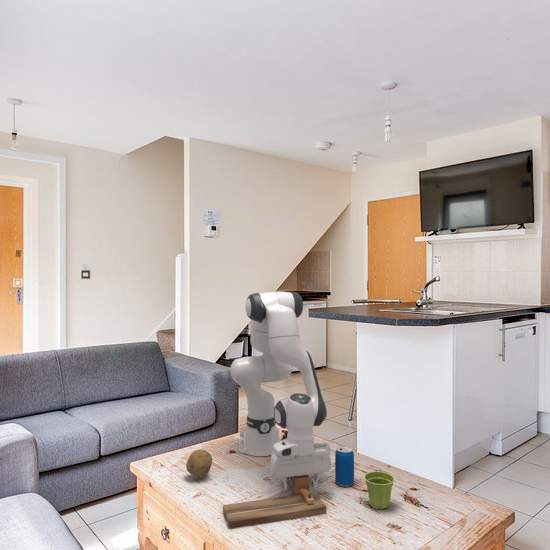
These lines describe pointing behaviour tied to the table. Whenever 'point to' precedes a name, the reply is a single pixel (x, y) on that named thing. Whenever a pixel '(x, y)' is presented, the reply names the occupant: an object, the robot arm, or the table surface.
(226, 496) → the table surface
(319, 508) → the plank
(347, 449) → the beverage can
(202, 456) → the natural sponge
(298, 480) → the wooden chest hasp
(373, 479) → the plant pot
